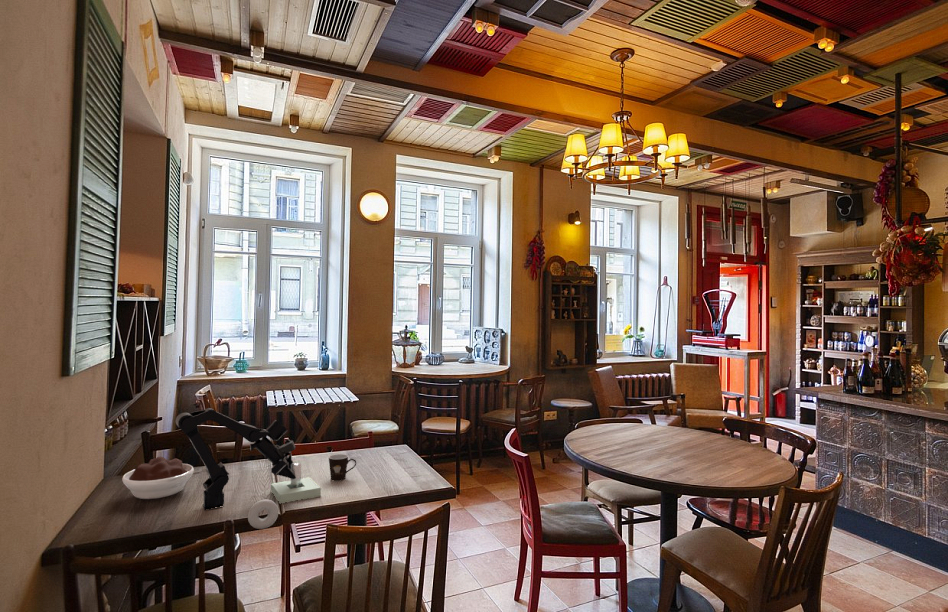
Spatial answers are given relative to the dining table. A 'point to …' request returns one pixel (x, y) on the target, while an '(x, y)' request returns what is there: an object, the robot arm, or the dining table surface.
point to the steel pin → (297, 472)
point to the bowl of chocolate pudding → (158, 478)
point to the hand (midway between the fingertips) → (296, 474)
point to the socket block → (295, 490)
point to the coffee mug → (339, 466)
